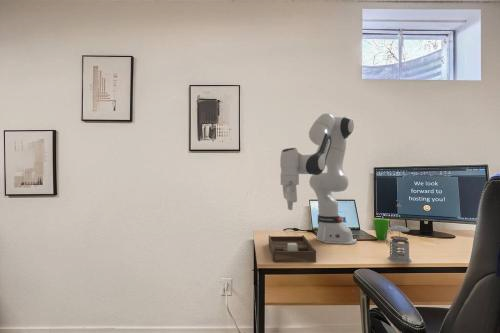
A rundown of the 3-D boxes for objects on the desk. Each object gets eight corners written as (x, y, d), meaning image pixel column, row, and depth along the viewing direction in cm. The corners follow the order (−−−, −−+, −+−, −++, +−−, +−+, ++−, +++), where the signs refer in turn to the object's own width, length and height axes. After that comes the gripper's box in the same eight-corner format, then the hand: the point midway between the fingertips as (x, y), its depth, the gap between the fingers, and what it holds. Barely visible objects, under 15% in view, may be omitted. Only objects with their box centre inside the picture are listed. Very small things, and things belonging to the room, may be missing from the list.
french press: (404, 264, 123) (403, 205, 124) (379, 257, 133) (378, 203, 133) (416, 260, 128) (415, 204, 129) (391, 254, 138) (391, 202, 139)
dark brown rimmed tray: (268, 244, 157) (268, 235, 157) (303, 244, 157) (303, 235, 157) (273, 262, 127) (273, 250, 127) (316, 261, 127) (316, 250, 127)
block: (287, 251, 135) (287, 242, 135) (296, 251, 135) (296, 242, 135) (288, 253, 131) (288, 245, 131) (297, 253, 131) (297, 245, 131)
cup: (373, 240, 167) (372, 221, 167) (372, 236, 175) (372, 218, 175) (390, 241, 163) (390, 222, 163) (389, 237, 172) (389, 219, 172)
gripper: (300, 182, 130) (300, 212, 130) (292, 180, 150) (293, 206, 150) (286, 182, 130) (286, 213, 130) (280, 180, 150) (281, 206, 150)
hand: (290, 209), depth 140 cm, fingers closed
